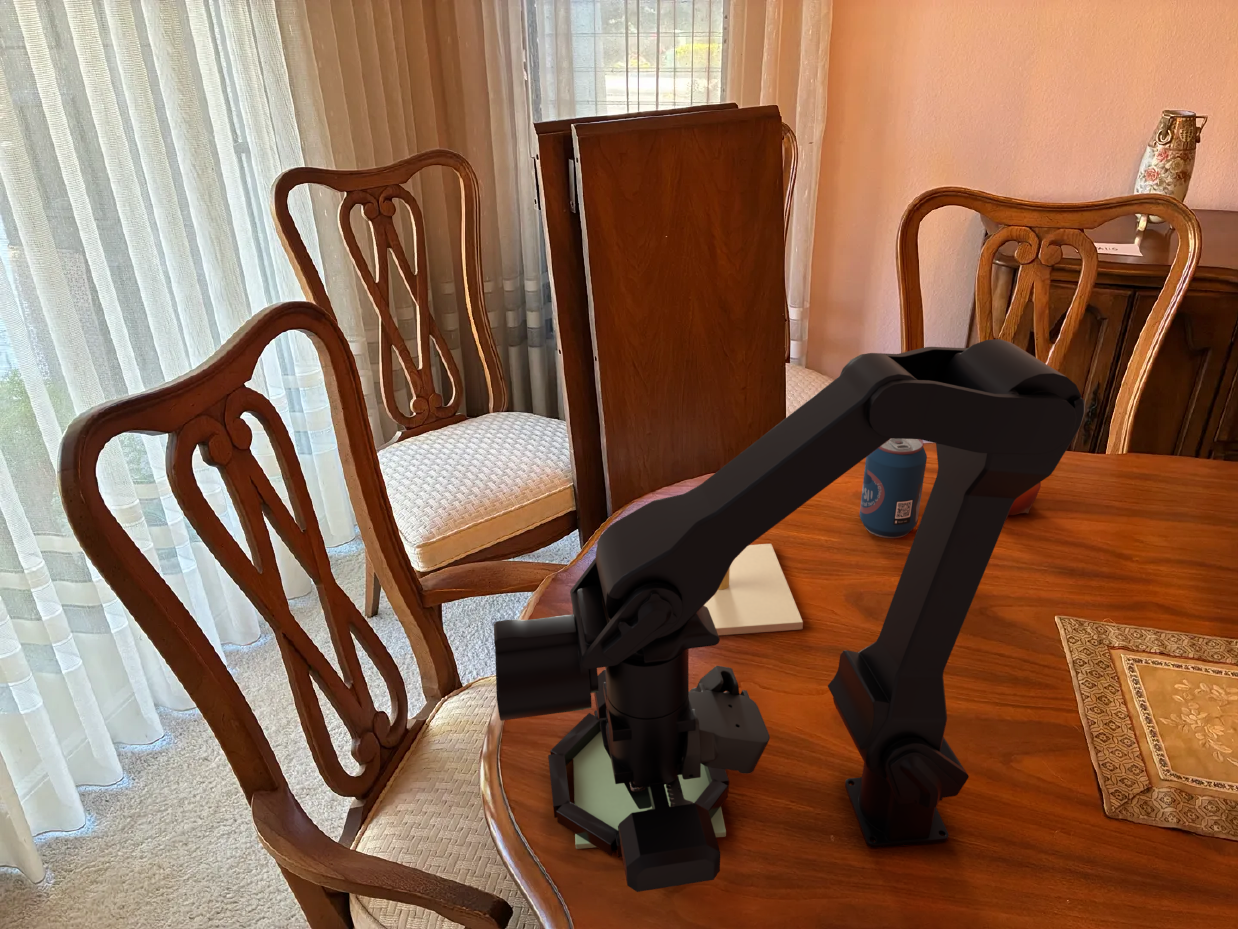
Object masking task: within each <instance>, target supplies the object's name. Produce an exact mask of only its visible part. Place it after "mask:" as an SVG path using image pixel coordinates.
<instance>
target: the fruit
mask: <svg viewBox="0 0 1238 929" xmlns="http://www.w3.org/2000/svg"><path fill="white" fill-rule="evenodd" d="M1041 484H1042V481H1041V482H1040V483H1038V484H1037V485H1035V486H1034V487H1032V488H1031V489H1029V490H1028V491H1027V492H1025V493H1024V494H1022V495H1021V496H1019V497H1018V498H1016V499H1015V501H1014V503H1013V504H1012V506H1011V509H1010V511H1009V514H1008V516H1016V515H1019V514H1029V511H1030V509H1032V506H1033V504H1034V503H1035V501H1036V498H1037V497H1038V494H1039V492H1040V490H1041V487H1042V485H1041Z"/></svg>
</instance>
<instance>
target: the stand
mask: <svg viewBox="0 0 1238 929" xmlns="http://www.w3.org/2000/svg"><path fill="white" fill-rule="evenodd" d="M704 606H706V607H707V608H708V610H709V612H710V615H711V618H712V620H713V623H714V625H715V628H716V630H717V633H718V636H731V635H744V634H756V633H757V634H759V633H771V632H781V631H782V632H783V631H798V630H803V627H804V620H803V619H802V616H801V613H800V611H799V609H798V606H797V604H796V601H795V599H794V596H793V593H792V592H791V589H790V586H789V583H788V581H787V578H786V576H785V574H784V571H783V569H782V566H781V564H780V562H779V560H778V556H777V554H776V552H775V550H774V546H773V545H772V543H761V544H750V545H749V546H747V547H746V548H745V549H744V550H743V551H742V552H741V553H740V554H739V555H738V556H737V557H736V558H735V559H734V561H733V562H732V564H731V566H730V568H729V569H728V571H727V573H726V575H725V577H724V579H723V581H722V583H721V585H720V587H719V588H718V590H717V592H716V593H715V595H714V596H713V597H712V598H711V599H710V600H709V601H708V602H707V603H706V604H705V605H704Z"/></svg>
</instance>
